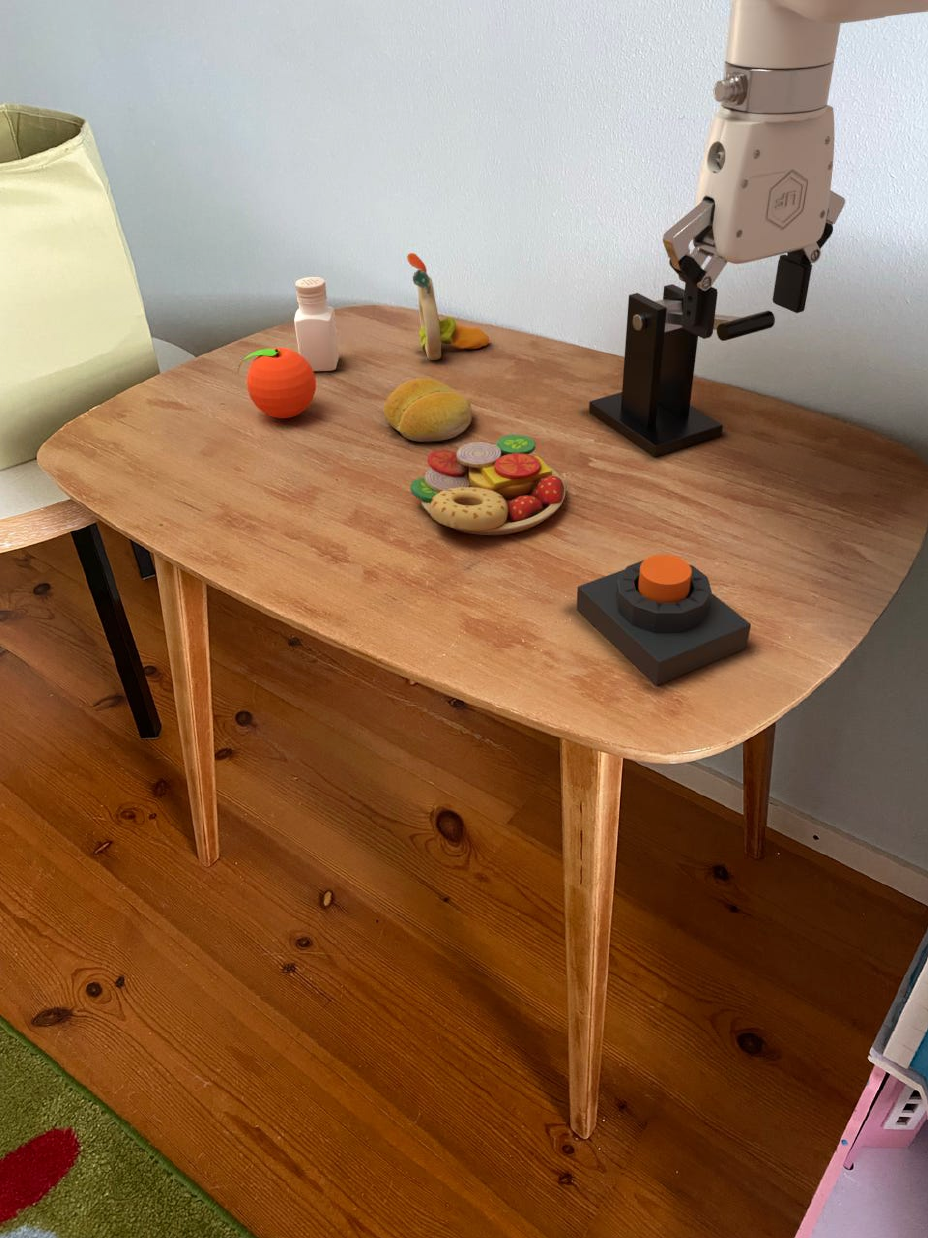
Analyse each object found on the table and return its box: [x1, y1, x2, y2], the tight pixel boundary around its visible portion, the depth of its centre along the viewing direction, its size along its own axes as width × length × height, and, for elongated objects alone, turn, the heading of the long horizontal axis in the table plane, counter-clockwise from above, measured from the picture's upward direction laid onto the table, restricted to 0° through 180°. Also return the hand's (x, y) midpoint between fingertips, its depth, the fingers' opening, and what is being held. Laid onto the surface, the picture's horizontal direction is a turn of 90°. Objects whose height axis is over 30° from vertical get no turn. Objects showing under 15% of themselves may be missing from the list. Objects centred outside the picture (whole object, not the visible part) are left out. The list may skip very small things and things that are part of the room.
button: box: [638, 554, 692, 603], centre depth 70 cm, size 4×4×2 cm
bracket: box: [588, 283, 724, 458], centre depth 94 cm, size 11×8×13 cm
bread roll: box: [383, 377, 473, 443], centre depth 98 cm, size 8×9×4 cm
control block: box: [576, 559, 752, 686], centre depth 71 cm, size 10×8×4 cm
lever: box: [654, 298, 776, 342], centre depth 86 cm, size 13×5×2 cm, turn 28°
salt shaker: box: [293, 276, 340, 372], centre depth 108 cm, size 4×4×10 cm
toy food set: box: [409, 434, 566, 536], centre depth 86 cm, size 13×13×3 cm
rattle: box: [406, 252, 490, 361], centre depth 109 cm, size 8×8×12 cm
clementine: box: [237, 347, 317, 419], centre depth 100 cm, size 8×7×7 cm
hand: (743, 319), depth 82 cm, fingers open, 9 cm apart
